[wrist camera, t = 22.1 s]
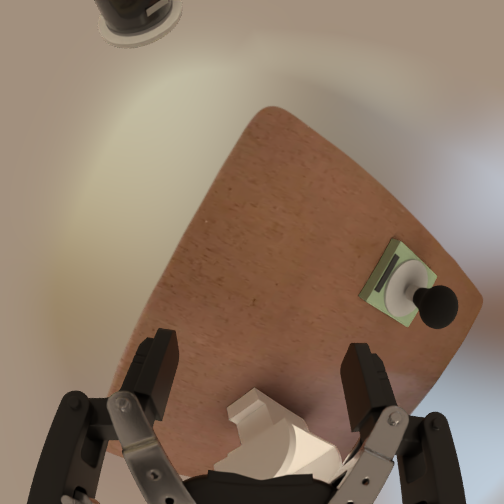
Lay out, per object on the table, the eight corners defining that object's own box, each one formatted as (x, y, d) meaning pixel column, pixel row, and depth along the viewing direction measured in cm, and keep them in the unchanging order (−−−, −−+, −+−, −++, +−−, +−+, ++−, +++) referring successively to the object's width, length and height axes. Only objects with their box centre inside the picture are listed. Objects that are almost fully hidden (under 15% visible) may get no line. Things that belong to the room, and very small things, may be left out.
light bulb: (425, 281, 38) (470, 303, 28) (407, 313, 38) (449, 340, 29) (407, 265, 36) (456, 286, 26) (387, 299, 36) (432, 328, 27)
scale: (358, 296, 38) (368, 303, 36) (391, 238, 37) (403, 241, 35) (400, 322, 42) (410, 329, 39) (429, 272, 41) (439, 277, 38)
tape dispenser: (315, 411, 43) (358, 484, 26) (262, 447, 43) (287, 521, 26) (267, 376, 39) (307, 470, 21) (207, 419, 39) (221, 511, 22)
